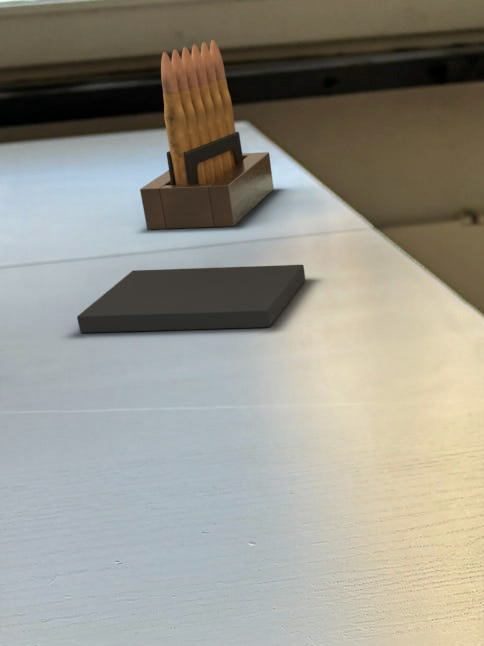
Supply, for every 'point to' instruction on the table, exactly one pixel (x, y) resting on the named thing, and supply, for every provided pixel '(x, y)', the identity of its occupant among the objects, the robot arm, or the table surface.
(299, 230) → the table surface
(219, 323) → the rubber mat
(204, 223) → the bullet clip holder
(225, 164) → the stripper clip of bullets
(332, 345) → the table surface
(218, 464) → the table surface
